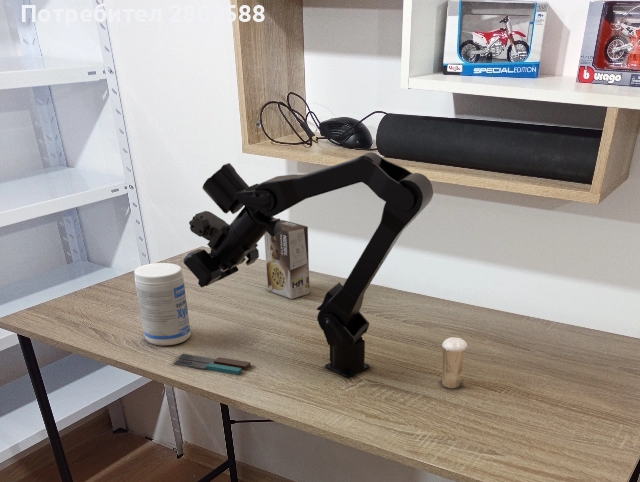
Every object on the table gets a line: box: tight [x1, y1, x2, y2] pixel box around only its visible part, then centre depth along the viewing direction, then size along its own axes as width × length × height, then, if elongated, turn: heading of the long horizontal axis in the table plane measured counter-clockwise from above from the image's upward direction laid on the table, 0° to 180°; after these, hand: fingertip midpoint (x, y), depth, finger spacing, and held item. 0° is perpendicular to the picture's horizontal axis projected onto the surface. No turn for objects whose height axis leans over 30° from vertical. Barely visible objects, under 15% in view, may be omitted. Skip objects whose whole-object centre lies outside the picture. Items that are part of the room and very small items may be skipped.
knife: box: [178, 353, 252, 371], centre depth 135 cm, size 15×2×1 cm, turn 71°
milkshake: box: [441, 336, 472, 389], centre depth 126 cm, size 4×5×10 cm
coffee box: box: [263, 219, 311, 300], centre depth 164 cm, size 9×6×16 cm
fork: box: [173, 358, 243, 376], centre depth 133 cm, size 14×2×1 cm, turn 71°
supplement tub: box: [133, 262, 192, 346], centre depth 141 cm, size 10×10×15 cm
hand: (200, 285), depth 136 cm, fingers closed
